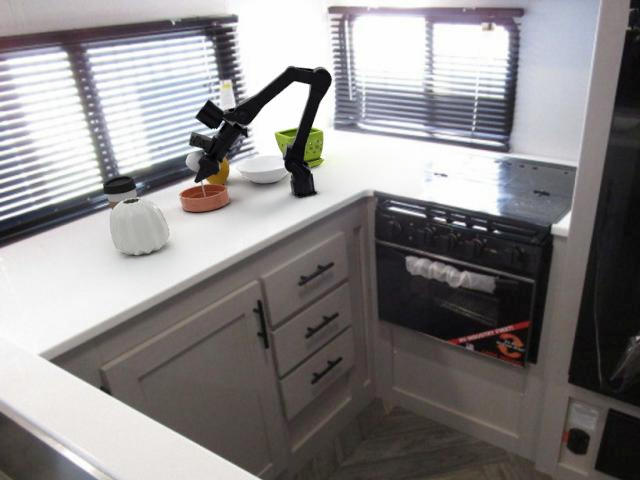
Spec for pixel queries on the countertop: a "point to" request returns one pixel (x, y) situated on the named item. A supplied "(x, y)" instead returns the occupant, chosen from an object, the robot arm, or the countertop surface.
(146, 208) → the vase
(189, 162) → the lollipop
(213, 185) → the terracotta plant saucer
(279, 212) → the countertop surface
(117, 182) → the coffee cup
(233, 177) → the countertop surface
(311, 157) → the flower pot
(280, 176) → the bowl
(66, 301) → the countertop surface
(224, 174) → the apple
